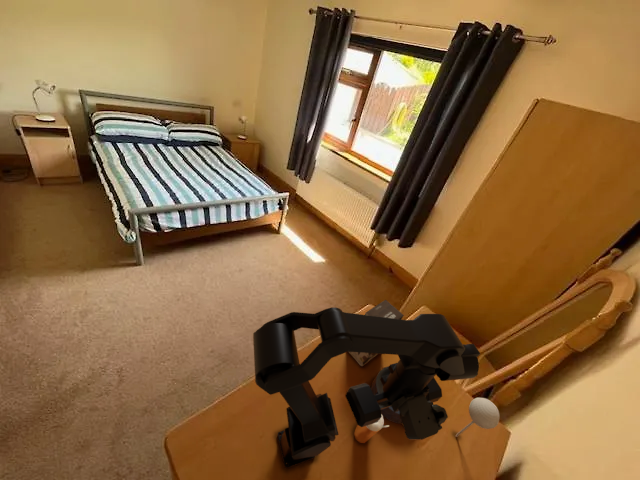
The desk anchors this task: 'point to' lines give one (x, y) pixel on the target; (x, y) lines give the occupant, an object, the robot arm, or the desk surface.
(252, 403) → the desk surface
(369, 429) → the milkshake
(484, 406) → the lollipop
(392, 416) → the bowl
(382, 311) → the coffee box
